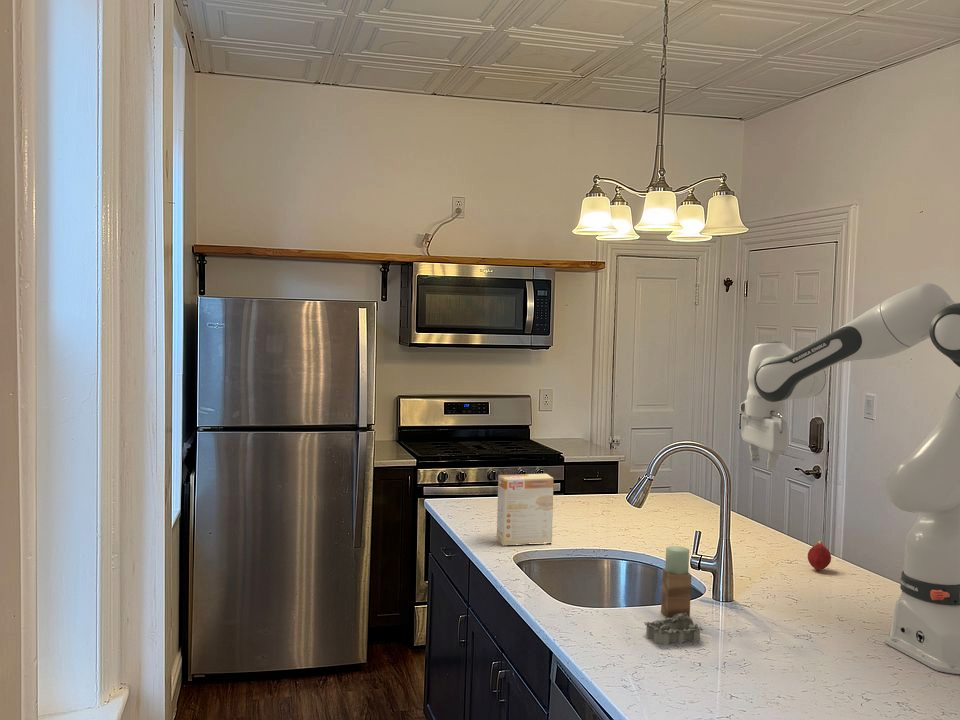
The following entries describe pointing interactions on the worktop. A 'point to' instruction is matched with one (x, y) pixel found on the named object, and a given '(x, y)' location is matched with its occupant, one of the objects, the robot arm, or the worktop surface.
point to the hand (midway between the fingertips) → (762, 465)
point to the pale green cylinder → (677, 560)
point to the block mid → (676, 585)
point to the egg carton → (673, 630)
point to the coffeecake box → (524, 509)
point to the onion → (819, 556)
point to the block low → (674, 605)
